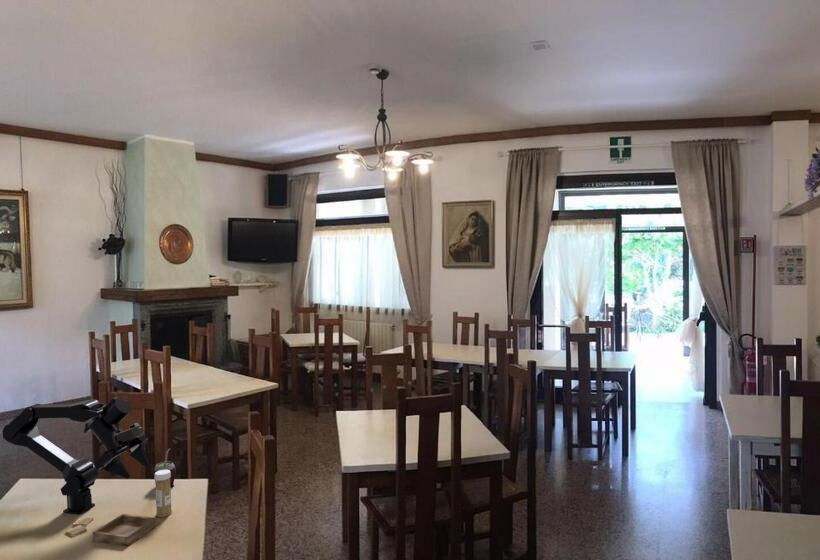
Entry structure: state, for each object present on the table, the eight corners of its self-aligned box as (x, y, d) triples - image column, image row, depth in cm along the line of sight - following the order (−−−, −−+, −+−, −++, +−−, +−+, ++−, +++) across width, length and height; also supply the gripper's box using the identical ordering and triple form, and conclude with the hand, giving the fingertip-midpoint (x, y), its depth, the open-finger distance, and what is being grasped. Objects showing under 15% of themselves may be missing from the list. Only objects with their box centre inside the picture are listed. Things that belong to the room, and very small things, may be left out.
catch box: (93, 541, 159) (92, 532, 158) (123, 521, 170) (122, 513, 170) (127, 545, 156) (127, 537, 156) (156, 525, 167) (155, 517, 167)
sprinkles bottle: (173, 514, 174) (171, 472, 173) (157, 518, 172) (155, 475, 171) (170, 509, 178) (168, 467, 177) (154, 513, 175) (153, 471, 175)
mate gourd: (161, 481, 199) (159, 440, 199) (182, 482, 199) (180, 441, 198) (149, 490, 192) (147, 447, 191) (171, 491, 191) (170, 448, 191)
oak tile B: (65, 534, 163) (65, 530, 163) (80, 529, 167) (79, 525, 167) (72, 538, 161) (72, 534, 161) (86, 532, 165) (86, 528, 165)
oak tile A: (72, 528, 167) (72, 524, 167) (80, 521, 171) (80, 517, 171) (86, 527, 167) (86, 524, 167) (93, 521, 171) (93, 517, 171)
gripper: (103, 426, 166) (136, 467, 165) (143, 409, 184) (173, 445, 183) (79, 450, 168) (111, 490, 166) (121, 430, 186) (150, 466, 185)
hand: (138, 471), depth 175 cm, fingers open, 9 cm apart
